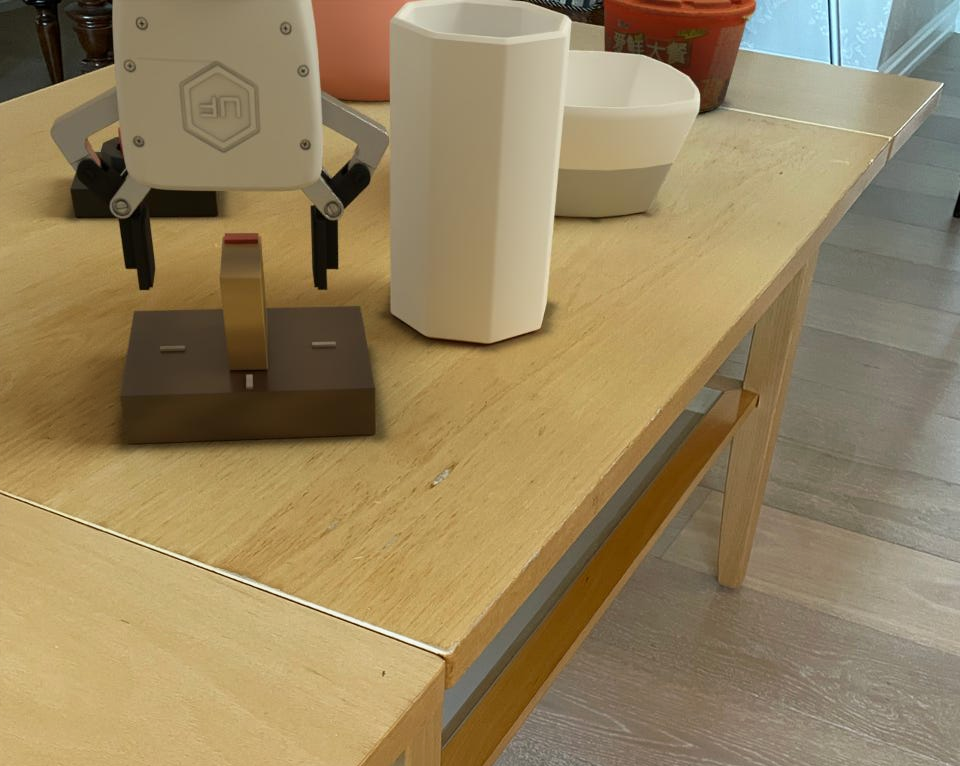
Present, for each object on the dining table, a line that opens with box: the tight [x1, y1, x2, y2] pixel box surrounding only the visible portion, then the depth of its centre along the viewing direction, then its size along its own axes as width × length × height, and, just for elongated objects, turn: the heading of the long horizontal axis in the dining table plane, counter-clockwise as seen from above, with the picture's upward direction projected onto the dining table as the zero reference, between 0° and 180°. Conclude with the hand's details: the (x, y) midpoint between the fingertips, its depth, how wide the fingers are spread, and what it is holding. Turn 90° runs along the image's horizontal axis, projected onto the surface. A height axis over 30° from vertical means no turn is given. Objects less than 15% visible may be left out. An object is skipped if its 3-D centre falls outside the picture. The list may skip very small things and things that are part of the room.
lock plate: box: [119, 305, 377, 445], centre depth 69 cm, size 14×11×3 cm
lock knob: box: [219, 232, 268, 370], centre depth 66 cm, size 6×2×6 cm, turn 8°
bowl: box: [554, 49, 700, 218], centre depth 97 cm, size 18×18×9 cm
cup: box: [389, 0, 572, 345], centre depth 75 cm, size 11×11×18 cm
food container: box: [603, 0, 757, 113], centre depth 120 cm, size 16×16×11 cm
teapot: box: [311, 0, 422, 102], centre depth 119 cm, size 25×17×13 cm
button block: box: [69, 136, 220, 218], centre depth 93 cm, size 11×9×4 cm
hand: (234, 280), depth 66 cm, fingers open, 9 cm apart
